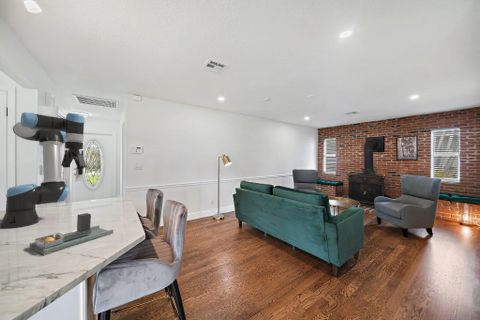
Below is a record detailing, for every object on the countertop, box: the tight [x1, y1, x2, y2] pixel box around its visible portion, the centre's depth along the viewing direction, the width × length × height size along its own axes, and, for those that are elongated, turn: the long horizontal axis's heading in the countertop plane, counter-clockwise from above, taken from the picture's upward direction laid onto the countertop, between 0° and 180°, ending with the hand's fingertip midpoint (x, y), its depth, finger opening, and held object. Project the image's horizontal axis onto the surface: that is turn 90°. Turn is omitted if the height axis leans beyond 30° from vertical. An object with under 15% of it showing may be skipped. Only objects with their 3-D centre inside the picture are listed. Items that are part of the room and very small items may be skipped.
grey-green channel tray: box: [28, 224, 114, 256], centre depth 94 cm, size 14×28×2 cm, turn 155°
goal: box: [34, 234, 63, 251], centre depth 85 cm, size 10×6×4 cm, turn 65°
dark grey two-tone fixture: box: [54, 212, 92, 243], centre depth 93 cm, size 5×13×11 cm, turn 155°
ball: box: [44, 237, 55, 242], centre depth 85 cm, size 4×4×4 cm
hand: (72, 179), depth 104 cm, fingers open, 13 cm apart
